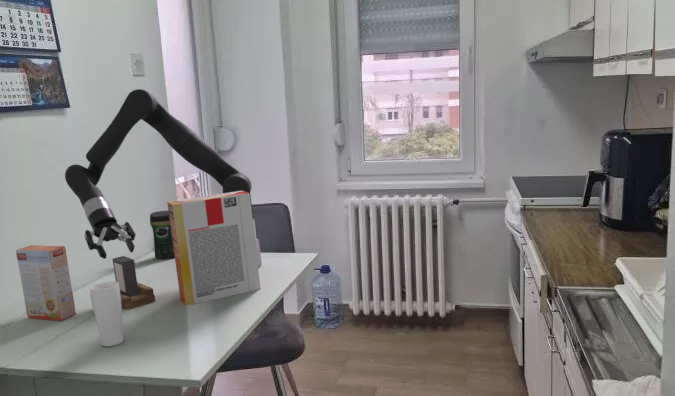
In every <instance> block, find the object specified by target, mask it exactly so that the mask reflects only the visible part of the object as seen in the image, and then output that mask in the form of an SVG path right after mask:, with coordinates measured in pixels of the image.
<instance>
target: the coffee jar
mask: <svg viewBox="0 0 675 396" xmlns="http://www.w3.org/2000/svg"><path fill="white" fill-rule="evenodd" d="M149 224H150V227H151V229H152V233H153V241H154V242H153V246H154V247H153V249H154V258H155V259H157V260H164V258H168V259H172V258H171V257H173V258H175V255H174V248H173V241H172V233H171V226H170V218H169V211H168V210H159V211H158V210H157V211H154V212H153V211H152V213H150V215H149Z"/></svg>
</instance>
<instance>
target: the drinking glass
mask: <svg viewBox="0 0 675 396" xmlns="http://www.w3.org/2000/svg"><path fill="white" fill-rule="evenodd" d="M89 291H90V294H89V295H90V299H91V300H90V301H91V306H92V310H93V314H94V317H95V321H96V325H97V329H98V333H99V337H100V343H101V345H102V346H103V347H107V348H109V347H115V346H118V345H120V344H122V343H123V342H124V340H125V336H124V325H123V309H122V306H121V295H120V289H119V284H118V283H117V282H116V281H106V282H100V283H96V284H94V285H92V286H90V287H89Z"/></svg>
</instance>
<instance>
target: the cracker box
mask: <svg viewBox="0 0 675 396" xmlns="http://www.w3.org/2000/svg"><path fill="white" fill-rule="evenodd" d="M15 253H16V260H17V264H18V270H19V275H20V281H21V282H20V283H21V287H22V292H23V299H24V305H25V309H26V310H25V311H26V315H27V318H29V319H37V320H47V321H57V322H61V321H64V320H66V319H69V318H70V317H73V316H75V315H77V313H76V304H75V299H74V293H73V287H72V283H71V282H72V280H71V275H70V269H69V262H68V257H67V251H66V246H65V245H37V244H36V245H28V246H25V247H21V248H19V249H16V250H15Z"/></svg>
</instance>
